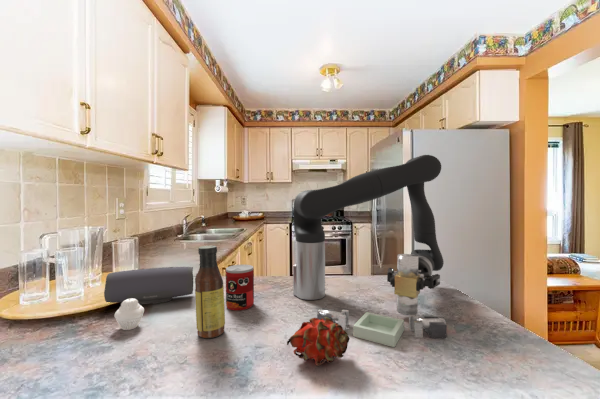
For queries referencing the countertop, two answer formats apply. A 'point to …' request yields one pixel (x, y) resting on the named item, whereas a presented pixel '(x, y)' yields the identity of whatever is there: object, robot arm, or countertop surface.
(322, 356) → the dragon fruit
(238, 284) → the canned food
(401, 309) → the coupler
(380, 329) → the mint green tray
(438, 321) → the shaft
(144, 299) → the bluetooth speaker
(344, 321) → the shaft
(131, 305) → the muffin
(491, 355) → the countertop surface
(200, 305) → the sauce bottle
